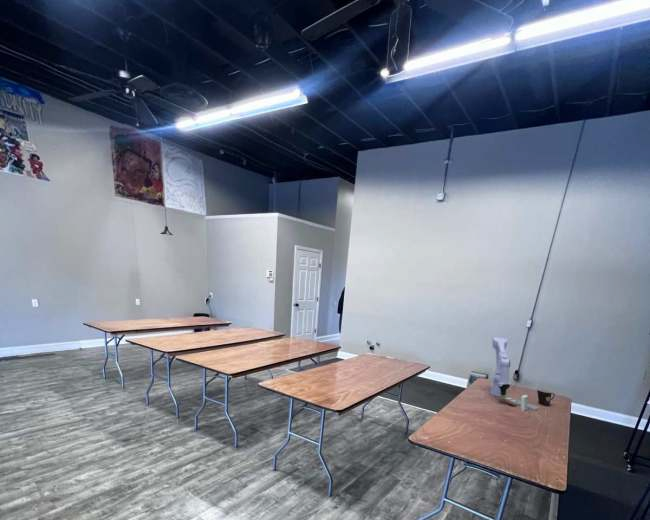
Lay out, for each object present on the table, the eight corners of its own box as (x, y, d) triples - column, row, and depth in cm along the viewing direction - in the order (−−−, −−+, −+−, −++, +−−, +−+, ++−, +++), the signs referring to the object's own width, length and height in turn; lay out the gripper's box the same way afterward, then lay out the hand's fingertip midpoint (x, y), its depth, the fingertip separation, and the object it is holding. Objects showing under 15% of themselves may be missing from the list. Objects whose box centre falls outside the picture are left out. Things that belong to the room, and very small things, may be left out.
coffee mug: (538, 405, 215) (538, 391, 215) (535, 401, 223) (535, 387, 223) (558, 408, 210) (558, 394, 211) (554, 404, 218) (554, 390, 219)
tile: (520, 409, 204) (521, 396, 204) (524, 407, 208) (524, 394, 209) (524, 411, 202) (524, 397, 203) (528, 409, 206) (528, 395, 207)
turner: (499, 397, 215) (499, 387, 216) (502, 395, 219) (502, 386, 219) (514, 402, 208) (515, 392, 208) (517, 401, 211) (518, 391, 212)
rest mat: (510, 402, 217) (510, 401, 217) (514, 400, 222) (514, 399, 222) (535, 410, 205) (535, 409, 205) (539, 407, 210) (539, 407, 210)
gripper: (506, 378, 209) (506, 398, 208) (514, 375, 218) (513, 394, 217) (495, 375, 215) (495, 395, 214) (503, 373, 224) (503, 391, 223)
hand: (504, 394), depth 216 cm, fingers closed on turner, 2 cm apart
